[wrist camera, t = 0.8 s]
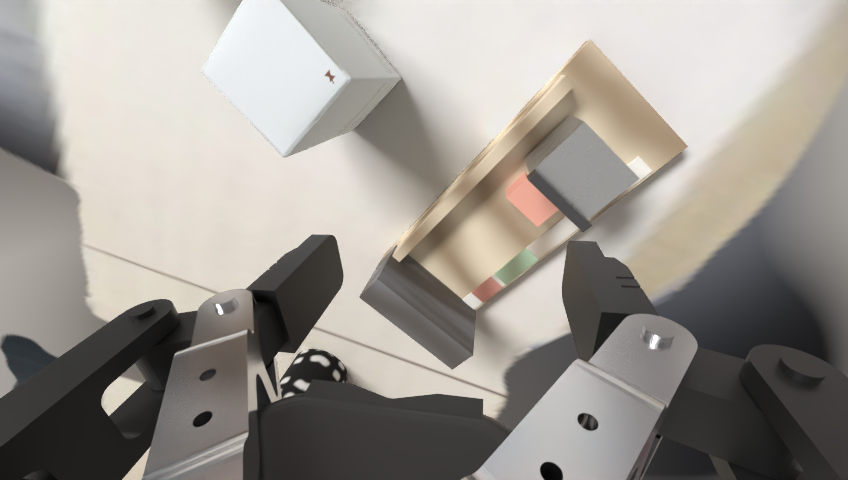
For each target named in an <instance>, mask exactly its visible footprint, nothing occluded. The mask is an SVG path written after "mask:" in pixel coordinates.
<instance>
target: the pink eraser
mask: <svg viewBox="0 0 848 480" xmlns="http://www.w3.org/2000/svg"><path fill="white" fill-rule="evenodd" d="M505 191H506V198H507V199H508V200H509V201H510V202H511V203H512V204H513V205H514V206H515V207H516V208H518V209H519V210H520V211H521V212H522V213H523V214H524V215H525V216H526V217H527V218H528V219H529V220H531V221H532V222H533V223H534V224H535V225H536V226H537V227H538V226H540V225H541V224H542V223H543V222H544V221H546V220H547V219H548V218H549V217H550V216H552V215H553V214H554V213H555V212H556V211H558V210H559V209H558V208H557V207H556V206H555V205H554V204H553V203H552V202H550V201H549V200H548V199H547V198H546V197H545V196H544V195H543V194H542V193H541V192H540V191H539V190H538V189H537V188H536V187H535V186H534V185H533V184H532V183H530V182H529V181H528V178H527V174H526V173H525V172H524V173H523V174H522V175H521V176H520V177H519V178H518V179H517V180H516V181H514V182H513V183H512V184H511V185H510V186H509V187H508V188H507V189H506V190H505Z"/></svg>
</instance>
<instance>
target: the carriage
mask: <svg viewBox="0 0 848 480" xmlns="http://www.w3.org/2000/svg"><path fill="white" fill-rule="evenodd" d="M524 160H525V163H526V165H527V168H528V170H529V174H528V175H527V178H528V181H529V182H530V183H532V184H533V185H534V186H535V187H536V188H537V189H538V190H539V191H540V192H541V193H542V194H543V195H544V196H545V197H546V198H547V199H548V200H549V201H550V202H552V203H553V204H554V205H555V206H556V207H557V208H558V209H559V210H560V211H561V212H562V213H563V214H564V215H565V216H566V217H567V218H568V219H569V220H570V221H571V222H573V223H574V224H575V225H576V226H577V227H578V228H579V229H580V230H581V231H582V232H584V231H585V230H587V229H588V228H589V227H590V226H592V225H591V224H590V222H589V221H588V219H589V218H590V217H592V216H593V215H594V214H595V213H597V212H598V211H599V210H600V209H602V208H603V207H604V206H606V205H607V204H608V203H609V202H611V201H612V200H613V199H615V198H616V197H617V196H618V195H620V194H621V193H622V192H624V191H625V190H626V189H627V188H629V187H630V186H631V185H633V184H634V183H635V182H636V181H638V180H639V179H640V178H639V177H638V176H637V175H636V174H635V173H634V172H633V171H632V170H631V169H630V168H629V167H628V166H627V165H626V164H625V163H624V162H623V161H622V160H621V159H620V158H619V157H618V156H617V155H616V154H615V153H614V152H613V150H612V149H611V148H610V147H609V146H608V145H607V144H606V143H605V142H604V141H603V140H602V139H601V138H600V137H599V136H598V135H597V134H596V133H595V132H594V131H593V130H592V129H591V128H590V127H589V126H588V125H587V124H586V123H585V122H584V121H582V120H580V119H578V118H576V117H574V116H572V115H569V116H568V117H567V118H566V119H565V120H564V121H562V122H561V123H560V124H559V125H558V126H557V127H556V128H555V129H554V130H553V131H552V132H551V133H550V134H549V135H548V136H547V137H546V138H545V139H544V140H543V141H542V142H541V143H540V144H539V145H538V146H537V147H536V148H535V149H534V150H533V151H532V152H530V153H529V154H528V155H527V156H526V157H525V158H524Z"/></svg>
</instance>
